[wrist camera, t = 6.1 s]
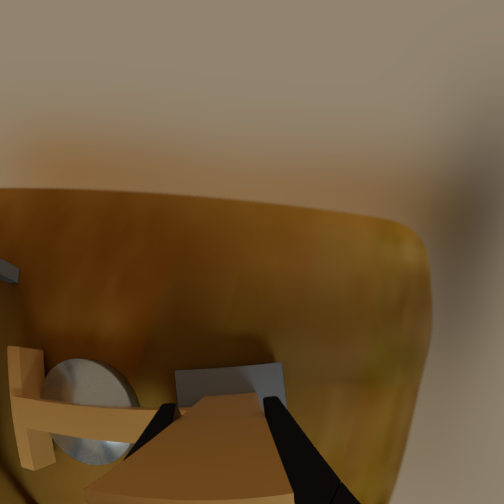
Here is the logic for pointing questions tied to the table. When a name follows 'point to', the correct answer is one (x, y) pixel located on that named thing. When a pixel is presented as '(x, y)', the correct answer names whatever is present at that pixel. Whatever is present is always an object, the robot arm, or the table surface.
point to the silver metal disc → (92, 393)
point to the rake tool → (165, 436)
